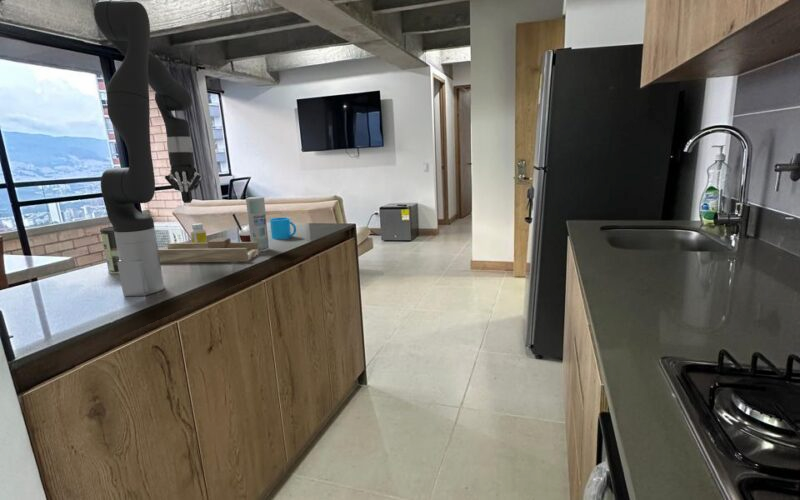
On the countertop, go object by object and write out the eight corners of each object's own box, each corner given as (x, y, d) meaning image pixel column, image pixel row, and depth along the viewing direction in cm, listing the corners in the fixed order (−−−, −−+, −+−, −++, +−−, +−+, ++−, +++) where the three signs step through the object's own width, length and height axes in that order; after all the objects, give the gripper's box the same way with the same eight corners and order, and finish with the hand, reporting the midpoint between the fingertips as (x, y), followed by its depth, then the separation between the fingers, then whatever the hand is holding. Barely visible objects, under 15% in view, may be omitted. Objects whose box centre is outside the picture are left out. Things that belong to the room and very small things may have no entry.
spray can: (255, 252, 157) (249, 199, 152) (249, 250, 162) (243, 197, 157) (272, 250, 161) (266, 197, 156) (265, 247, 166) (260, 196, 161)
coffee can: (152, 265, 142) (145, 224, 139) (127, 274, 133) (119, 230, 129) (126, 265, 145) (119, 224, 141) (100, 273, 135) (91, 230, 131)
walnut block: (224, 253, 148) (222, 241, 147) (209, 254, 148) (207, 241, 147) (231, 250, 153) (229, 238, 152) (216, 250, 153) (215, 238, 152)
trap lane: (247, 261, 145) (245, 248, 144) (152, 262, 147) (149, 250, 146) (259, 253, 155) (258, 241, 154) (170, 255, 157) (168, 243, 156)
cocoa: (261, 242, 177) (259, 214, 175) (250, 245, 171) (249, 215, 169) (242, 240, 180) (241, 212, 178) (232, 242, 175) (230, 214, 172)
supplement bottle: (210, 246, 170) (207, 222, 167) (203, 250, 164) (199, 225, 162) (197, 246, 170) (194, 223, 168) (190, 250, 165) (186, 225, 163)
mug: (267, 238, 182) (265, 220, 180) (279, 235, 190) (277, 217, 188) (291, 240, 178) (289, 221, 176) (302, 236, 186) (300, 218, 184)
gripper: (154, 151, 138) (162, 204, 142) (193, 150, 137) (200, 203, 141) (168, 151, 146) (175, 202, 149) (205, 150, 145) (211, 201, 148)
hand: (187, 202), depth 145 cm, fingers closed
